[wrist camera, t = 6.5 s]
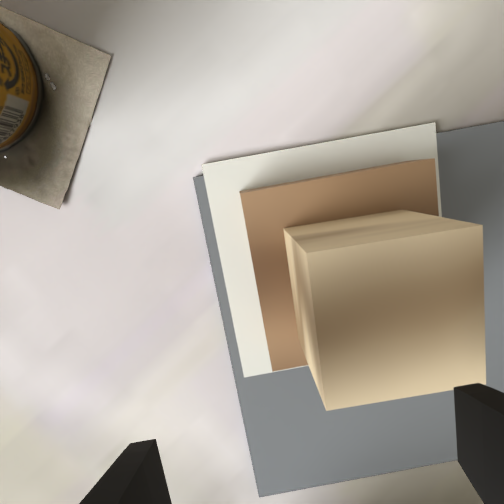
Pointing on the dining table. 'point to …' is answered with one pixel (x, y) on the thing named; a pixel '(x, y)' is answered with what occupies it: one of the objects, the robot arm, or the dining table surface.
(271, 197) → the walnut base
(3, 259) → the dining table surface
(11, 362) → the dining table surface
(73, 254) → the dining table surface
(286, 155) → the mat
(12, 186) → the condiment
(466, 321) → the maple cube
